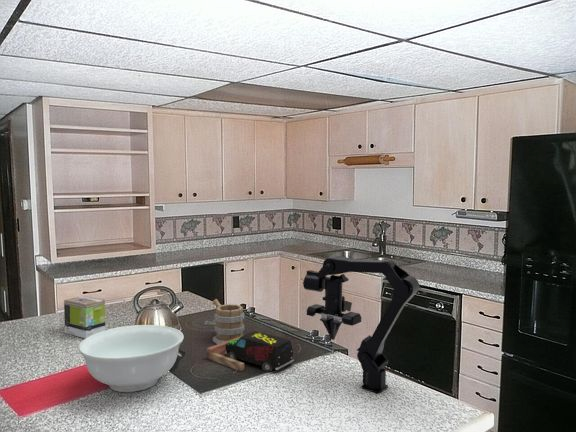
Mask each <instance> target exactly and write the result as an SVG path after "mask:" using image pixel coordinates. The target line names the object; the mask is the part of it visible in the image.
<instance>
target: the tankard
mask: <svg viewBox="0 0 576 432" xmlns="http://www.w3.org/2000/svg"><path fill="white" fill-rule="evenodd" d="M212 305H213V306H215V313H214V332H215V333H216V335H214V336H213V337H212V342H213V343H214V344H215V345H217V344H220V343H223V342H226V341H229V340H231V339H234V338H237V337H240V336H243V335H245V334H244V331H245V324H244V319H245V312H244V307H243V306H242V305H239V304H236V303H235V304H234V303H233V304H232V303H229V304H227V303H226V304H221V303H220V302H219V300H218V298H215V299H214V300H212Z"/></svg>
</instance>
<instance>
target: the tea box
mask: <svg viewBox="0 0 576 432" xmlns="http://www.w3.org/2000/svg"><path fill="white" fill-rule="evenodd" d="M63 309H64V334H67V335H71V336H75V337H79V338H82V339H86V338H87V337H89V336H91V335H94V334H96V333H99V332H102V331H105V330H106V302H105V299H101V298H97V297H92V296H88V295H81V296H77V297H71V298H66V299H63Z"/></svg>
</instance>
